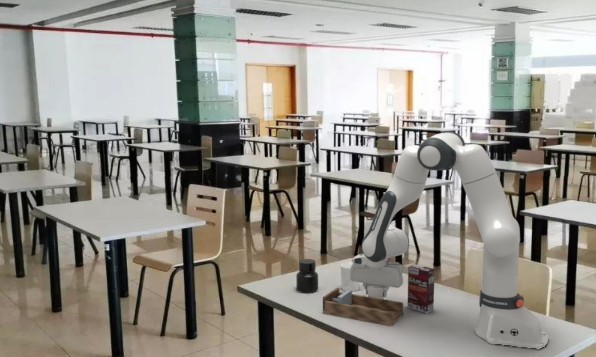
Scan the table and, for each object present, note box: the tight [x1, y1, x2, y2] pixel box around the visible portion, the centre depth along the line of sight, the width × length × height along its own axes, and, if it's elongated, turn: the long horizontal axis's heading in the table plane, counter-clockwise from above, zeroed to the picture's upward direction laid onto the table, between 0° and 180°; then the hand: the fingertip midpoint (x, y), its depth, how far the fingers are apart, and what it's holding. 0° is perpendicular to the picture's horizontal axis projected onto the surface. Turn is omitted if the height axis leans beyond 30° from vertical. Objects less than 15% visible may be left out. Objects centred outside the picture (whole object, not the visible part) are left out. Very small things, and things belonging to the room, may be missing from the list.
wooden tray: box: [322, 287, 404, 327], centre depth 211 cm, size 26×12×6 cm, turn 61°
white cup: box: [340, 262, 360, 292], centre depth 237 cm, size 8×8×10 cm
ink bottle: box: [295, 258, 319, 294], centre depth 237 cm, size 10×9×12 cm
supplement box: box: [406, 264, 436, 314], centre depth 214 cm, size 9×5×16 cm, turn 47°
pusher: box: [332, 290, 353, 305], centre depth 215 cm, size 6×9×5 cm, turn 151°
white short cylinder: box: [367, 284, 385, 299], centre depth 221 cm, size 7×7×7 cm
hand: (376, 295), depth 221 cm, fingers closed on white short cylinder, 5 cm apart
